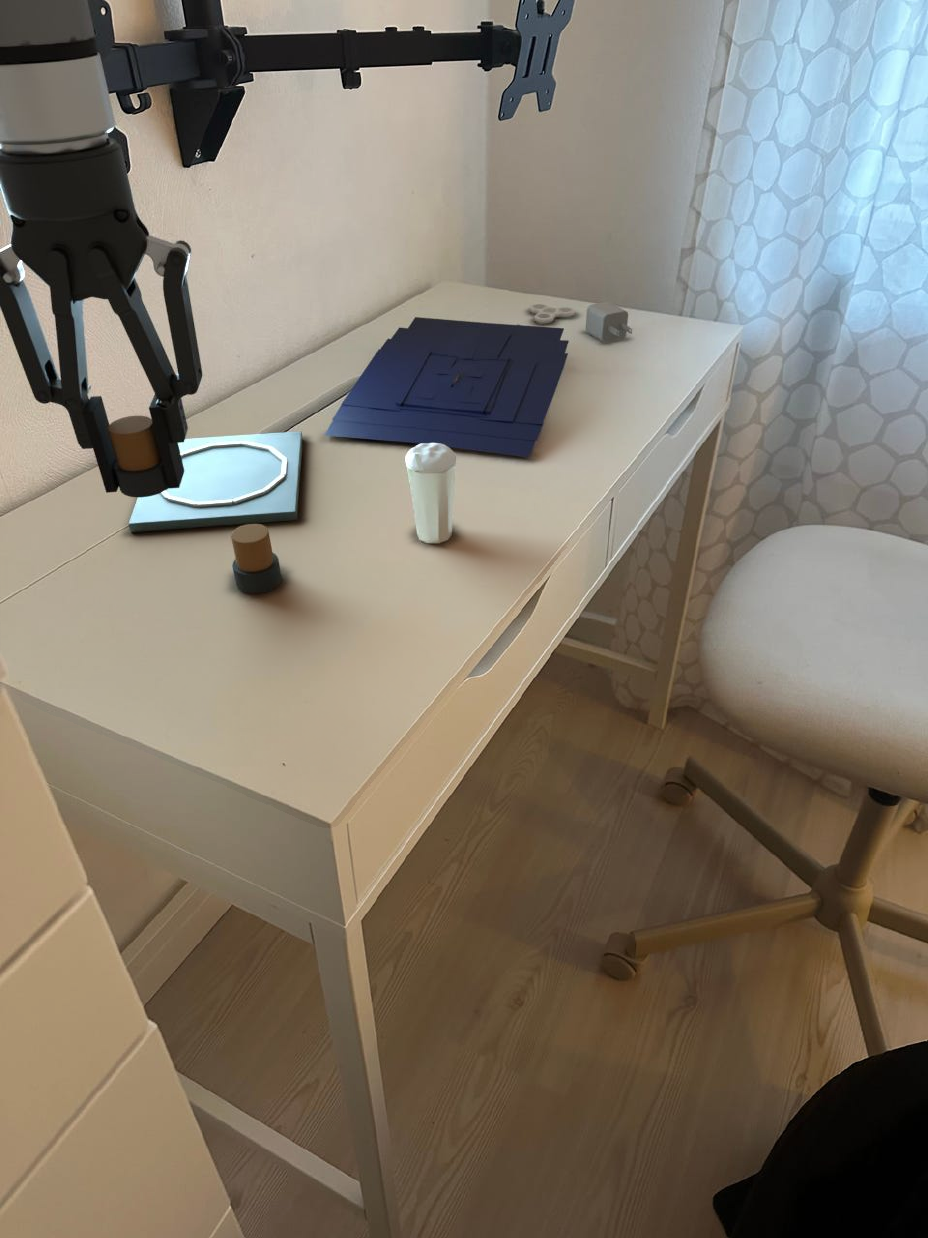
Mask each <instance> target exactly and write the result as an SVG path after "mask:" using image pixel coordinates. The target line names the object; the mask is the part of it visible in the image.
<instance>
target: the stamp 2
mask: <svg viewBox="0 0 928 1238" xmlns="http://www.w3.org/2000/svg"><path fill="white" fill-rule="evenodd" d="M230 540H231V544H232V549H233V554H234V557H235V558H234V559H233V562H232V564H231V565H232V571H233V576H234V581H235V585H236V587H237V589H238V590H239V591H241V592H243V593H246V594H252V595H253V594H263V593H267V592H269V591H272V590H274V589H275V588H277V587H278V586H279V585H280V584H281V582H282V573H281V572H282V571H281V566H280V559H279V557H278V555H277V554H276V553H274V552H273V547H272V542H271V536H270V532H269V529H268V527H267V526H265V525H263V524H261V523H250V524H242V525H240V526H238V527H236V528H235V529H234V530H233V531H232V532H231V533H230Z"/></svg>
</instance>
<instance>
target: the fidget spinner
mask: <svg viewBox="0 0 928 1238" xmlns="http://www.w3.org/2000/svg"><path fill="white" fill-rule="evenodd" d="M528 309H529V312H530V313H532V314H535V315H534V316H533V318H534V319H533V320H534V321H535V322H536V323H539V324H549V323H552V322H553V321H554V319H556V318H569V317H573V316H574V315H575V314H576V310H575V309H574V308H572V307H569V306H562V307H551V306H548V304H544V303H534V304H532V305H530V306H529V308H528Z"/></svg>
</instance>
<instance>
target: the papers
mask: <svg viewBox="0 0 928 1238" xmlns="http://www.w3.org/2000/svg"><path fill="white" fill-rule="evenodd" d="M564 331H565V328H564V327H550V326H536V325H524V324H523V325H522V324H509V323H508V324H506V323H495V322H494V323H493V322H479V321H470V320H469V321H467V320H455V319H443V318H431V317H419V316H414V318H413V320H412V321H411V323H410V324H409V326H408V327H398V329H397V330H396V331H395V332H394V334H393V335H392V336H391V338H387V339H386V340H385V342H384V343H383V344H382V345H381V347H380V348H378V350H377V351H376V352H375V354H374V356H373V357H372V359H371V360H370V362H369V363H368V364H367V366H366V367H365V369H364V370H363V372H362V373H361V375H360V376H359V377H358V379H357V381H355V383H354V385H353V386H352V388H351V389H350V391H349V392H348V394H347V395H346V397H345V398H344V400H343V401H342V402H341V404H340V406H339V408H338V410H337V411H336V413H335V414H334V415H333V418H332V419H331V420H332V422H331V423H330V424H329V426H328V428H327V429H326V431H325V433H324V436H328V437H340V438H351V439H364V440H375V441H376V440H377V441H388V442H401V443H412V444H413V443H414V444H421V443H440V444H444V445H446V446H447V447H449V448H454V449H463V450H471V451H478V452H483V453H484V452H485V453H493V454H499V455H509V456H515V457H523V458H529V457H530V455H531V453H532V451H533V449H534V446H535V445H536V442H538V440H539V437H540V434H541V432H542V430H543V427H544V424H545V421H546V416H547V415H548V412H549V409H550V406H551V403H552V401H553V399H554V395H555V392H556V391H557V390H556V389H557V387H558V384H559V381H560V379H561V376H562V373H563V370H564V368H565V366H566V361H567V358H568V355H569V352H567V349H568V346H569V341H570V340H565V339H562V335H563V333H564ZM566 352H567V353H566Z"/></svg>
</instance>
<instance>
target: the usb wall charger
mask: <svg viewBox="0 0 928 1238" xmlns="http://www.w3.org/2000/svg"><path fill="white" fill-rule="evenodd" d="M585 315H586V316H585V332H586V333H587V334H588V335H590V336H592V337H594V338H596V339H597V340H599V341H600V342H603V343H604V344H607V343H612V342H618V341H621V340H624V339H625V338H626V336H627V334H632V335H633V327H630V326H629V325H628V322H629V313H628V311H627V310H625V309H623V308H621V307H619V306H618V305H616V304H613V303H612V302H610V301H604V302H603V301H602V302H599V303H593V304H590V305H588V307H587V308H586V314H585Z"/></svg>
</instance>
